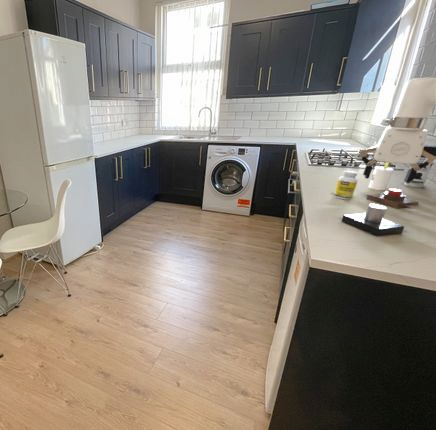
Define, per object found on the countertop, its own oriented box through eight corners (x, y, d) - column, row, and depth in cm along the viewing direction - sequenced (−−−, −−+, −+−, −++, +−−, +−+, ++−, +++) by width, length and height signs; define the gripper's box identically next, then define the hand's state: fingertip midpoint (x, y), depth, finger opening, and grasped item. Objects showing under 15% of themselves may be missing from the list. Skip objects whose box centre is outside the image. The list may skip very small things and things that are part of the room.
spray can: (402, 187, 138) (418, 146, 130) (403, 184, 142) (419, 144, 134) (421, 190, 133) (439, 147, 125) (422, 187, 137) (440, 146, 130)
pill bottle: (331, 197, 124) (339, 171, 120) (335, 194, 128) (343, 169, 123) (349, 200, 119) (358, 174, 115) (353, 197, 123) (362, 171, 119)
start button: (403, 195, 114) (405, 191, 113) (395, 196, 113) (397, 191, 112) (392, 193, 118) (394, 188, 117) (384, 193, 117) (386, 188, 116)
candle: (364, 187, 137) (375, 157, 132) (381, 188, 135) (392, 157, 130) (370, 191, 132) (382, 159, 126) (388, 192, 130) (400, 160, 124)
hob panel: (401, 233, 90) (404, 226, 89) (376, 236, 88) (379, 228, 87) (364, 219, 101) (366, 212, 100) (341, 221, 99) (343, 214, 98)
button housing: (416, 207, 112) (420, 197, 111) (396, 208, 110) (400, 199, 109) (384, 197, 123) (388, 189, 122) (366, 199, 121) (369, 190, 120)
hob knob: (384, 222, 92) (390, 207, 90) (374, 223, 91) (379, 208, 89) (371, 217, 96) (376, 202, 94) (360, 218, 95) (365, 203, 93)
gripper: (371, 123, 84) (352, 178, 91) (454, 126, 75) (427, 187, 82) (368, 122, 90) (350, 173, 97) (445, 124, 81) (420, 181, 88)
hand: (385, 179), depth 89 cm, fingers open, 9 cm apart
